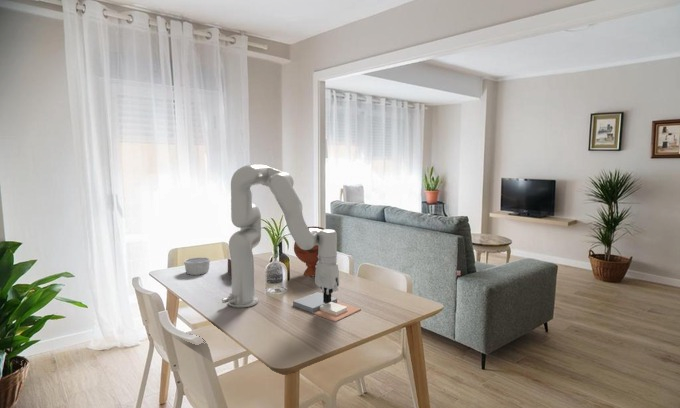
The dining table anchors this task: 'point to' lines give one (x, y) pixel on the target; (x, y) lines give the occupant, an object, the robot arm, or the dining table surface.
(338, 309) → the ceramic tile
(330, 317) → the mat
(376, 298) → the dining table surface
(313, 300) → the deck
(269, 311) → the dining table surface
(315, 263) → the goblet
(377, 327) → the dining table surface
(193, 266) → the ramekin
